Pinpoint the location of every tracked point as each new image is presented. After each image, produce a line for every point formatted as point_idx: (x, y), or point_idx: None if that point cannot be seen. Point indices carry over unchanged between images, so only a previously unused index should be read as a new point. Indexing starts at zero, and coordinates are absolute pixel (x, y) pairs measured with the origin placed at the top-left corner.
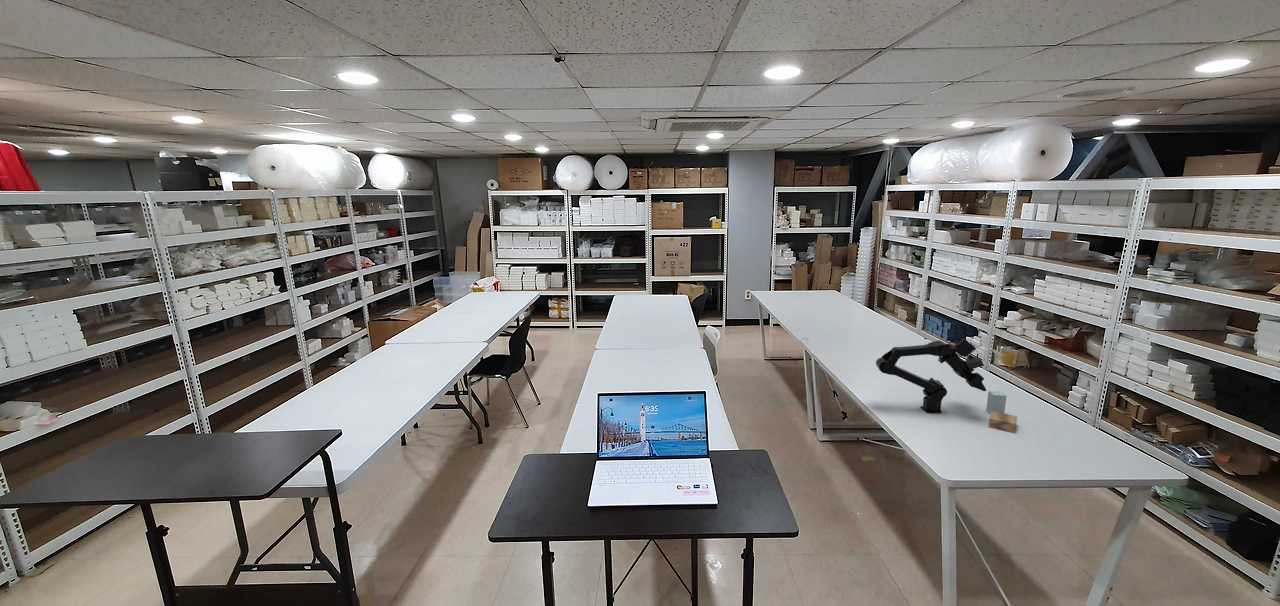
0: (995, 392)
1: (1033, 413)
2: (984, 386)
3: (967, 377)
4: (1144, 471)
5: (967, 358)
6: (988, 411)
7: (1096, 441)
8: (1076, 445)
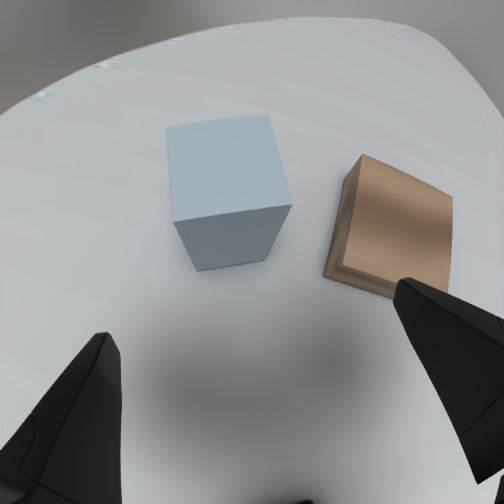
0: (209, 172)
1: (176, 87)
2: (469, 303)
3: (101, 490)
4: (445, 53)
5: None
6: (228, 264)
7: (352, 37)
8: (408, 83)
